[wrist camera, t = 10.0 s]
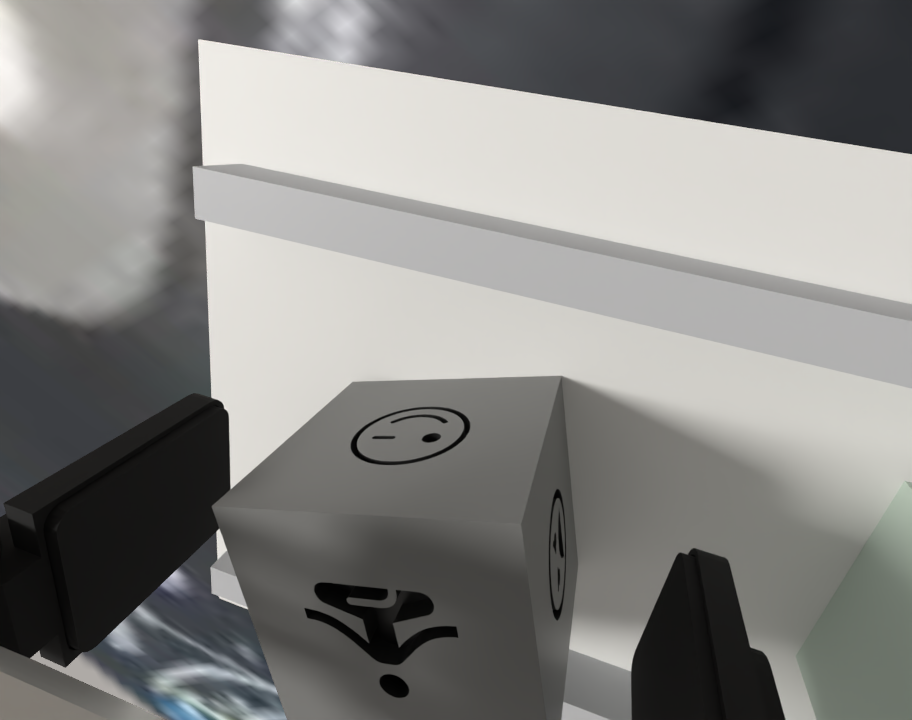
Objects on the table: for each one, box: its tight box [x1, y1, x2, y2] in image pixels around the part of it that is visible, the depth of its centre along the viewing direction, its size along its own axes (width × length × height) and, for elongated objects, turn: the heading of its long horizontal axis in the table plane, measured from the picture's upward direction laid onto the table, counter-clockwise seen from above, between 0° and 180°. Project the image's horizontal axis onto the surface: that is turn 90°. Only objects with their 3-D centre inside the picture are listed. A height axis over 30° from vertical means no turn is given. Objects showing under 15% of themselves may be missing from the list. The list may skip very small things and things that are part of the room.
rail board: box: [193, 39, 912, 720], centre depth 10 cm, size 22×16×6 cm
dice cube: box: [212, 376, 578, 720], centre depth 11 cm, size 5×5×5 cm
